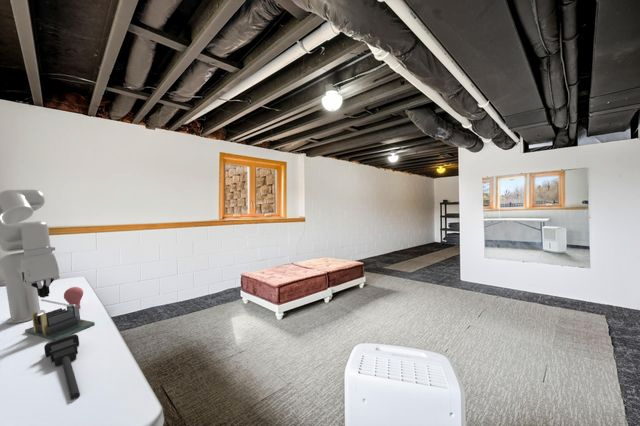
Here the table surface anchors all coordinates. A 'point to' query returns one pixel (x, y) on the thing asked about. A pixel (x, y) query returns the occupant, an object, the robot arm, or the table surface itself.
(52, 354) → the electrical plug
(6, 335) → the table surface
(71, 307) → the retention strap
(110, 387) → the table surface
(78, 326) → the circuit board
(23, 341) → the table surface
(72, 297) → the light bulb
